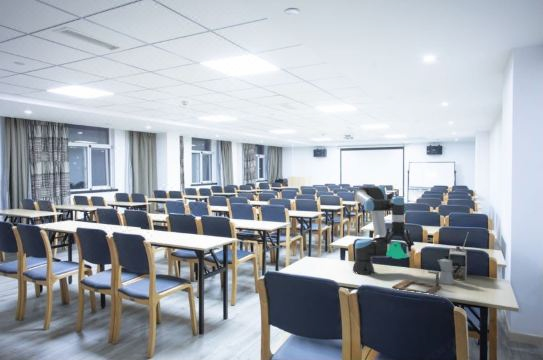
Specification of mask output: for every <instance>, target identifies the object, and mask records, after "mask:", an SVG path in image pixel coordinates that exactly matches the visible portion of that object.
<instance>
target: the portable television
mask: <svg viewBox="0 0 543 360" xmlns="http://www.w3.org/2000/svg"><path fill="white" fill-rule="evenodd" d="M468 235H469V231H468V232H467V234H466V238H465V240H464V243H463V247H462V248H461V247H460V246H458V245H457V246H456V247H455V248H453V247H452V248H450V249H449V254H448V259H450V260H453V261H456V262H458V263H459V264H460V266H461V267H460V268H459V269H458V271H457V272H456V274H455V273H454V272H455V270H456V269H457V268H458V265H457V266H453V270H452V272H451V273H452V275H453V280H456V279H459V280H458V281H464V280H465V281H467V276H468V275H467V274H468V271H467V270H468V256H467V254H468V253H467V250H466V249H465V248H464V247H465V245H466V241H467V237H468Z"/></svg>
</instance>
